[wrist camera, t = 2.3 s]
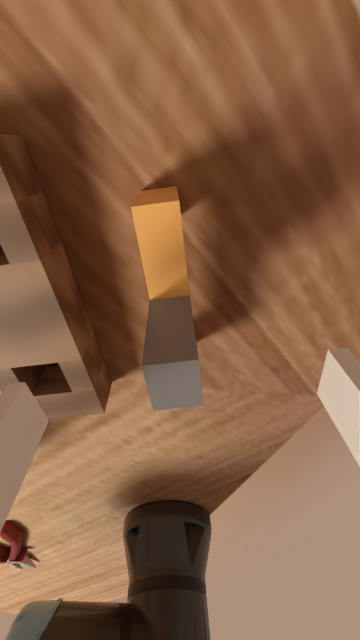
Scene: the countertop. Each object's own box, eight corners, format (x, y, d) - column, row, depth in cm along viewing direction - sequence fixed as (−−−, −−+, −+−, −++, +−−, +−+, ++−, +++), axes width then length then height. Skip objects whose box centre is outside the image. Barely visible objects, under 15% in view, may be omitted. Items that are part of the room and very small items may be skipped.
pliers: (5, 562, 58) (-1, 579, 55) (-51, 523, 47) (-61, 541, 44) (57, 557, 57) (53, 573, 55) (13, 516, 46) (6, 534, 44)
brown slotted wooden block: (112, 382, 29) (104, 413, 25) (39, 390, 29) (22, 422, 26) (22, 135, 17) (-14, 133, 14) (-99, 153, 17) (-164, 155, 14)
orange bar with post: (194, 343, 26) (209, 464, 16) (169, 346, 26) (168, 468, 16) (176, 185, 19) (184, 231, 9) (141, 190, 19) (108, 241, 9)
